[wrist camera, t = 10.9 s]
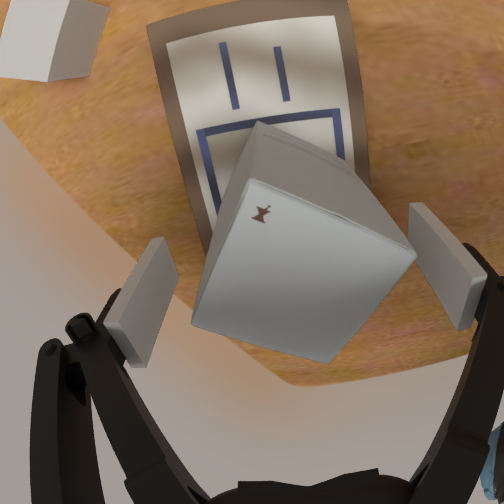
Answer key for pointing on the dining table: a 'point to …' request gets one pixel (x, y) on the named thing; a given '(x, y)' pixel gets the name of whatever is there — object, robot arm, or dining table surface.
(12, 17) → the gray cube
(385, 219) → the supplement box
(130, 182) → the dining table surface
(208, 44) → the brown framed board
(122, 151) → the dining table surface
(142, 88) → the dining table surface
